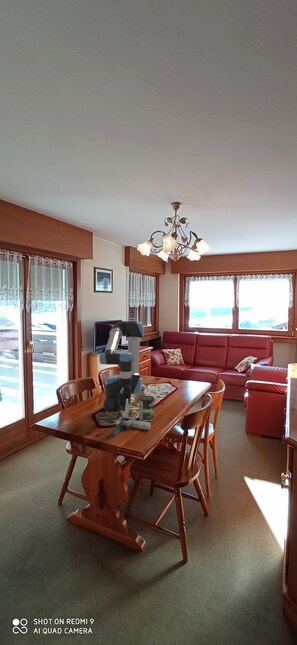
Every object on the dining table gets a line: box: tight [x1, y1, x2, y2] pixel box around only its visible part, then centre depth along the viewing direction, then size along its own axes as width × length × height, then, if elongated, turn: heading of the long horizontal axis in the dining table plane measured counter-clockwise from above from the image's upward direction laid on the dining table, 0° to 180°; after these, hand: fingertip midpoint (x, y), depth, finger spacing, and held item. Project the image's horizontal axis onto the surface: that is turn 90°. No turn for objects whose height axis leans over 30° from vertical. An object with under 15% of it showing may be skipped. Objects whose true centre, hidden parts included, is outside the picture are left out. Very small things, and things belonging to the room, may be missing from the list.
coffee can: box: [138, 394, 155, 422], centre depth 204 cm, size 10×10×14 cm
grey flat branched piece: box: [111, 415, 152, 437], centre depth 185 cm, size 21×21×4 cm
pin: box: [123, 398, 129, 421], centre depth 192 cm, size 3×3×16 cm
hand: (125, 414), depth 192 cm, fingers closed on pin, 3 cm apart
